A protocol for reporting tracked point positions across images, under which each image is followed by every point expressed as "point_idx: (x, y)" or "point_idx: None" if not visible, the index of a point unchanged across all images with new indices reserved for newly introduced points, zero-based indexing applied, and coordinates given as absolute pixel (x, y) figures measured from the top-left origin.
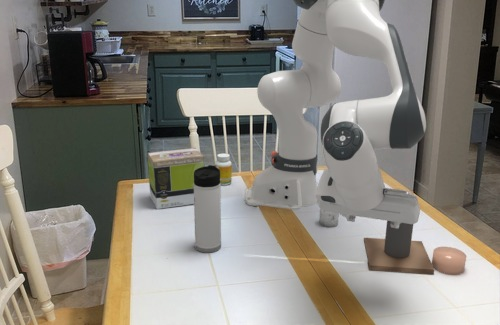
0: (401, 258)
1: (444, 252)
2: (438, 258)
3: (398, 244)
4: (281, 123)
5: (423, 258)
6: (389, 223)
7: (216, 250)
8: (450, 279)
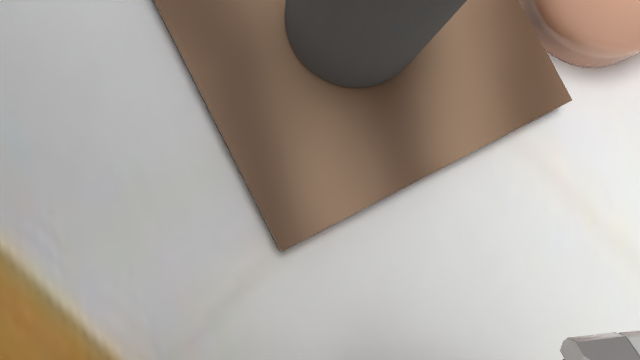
0: (398, 74)
1: None
2: (595, 33)
3: (399, 58)
4: None
5: (491, 11)
6: None
7: None
8: (630, 108)
